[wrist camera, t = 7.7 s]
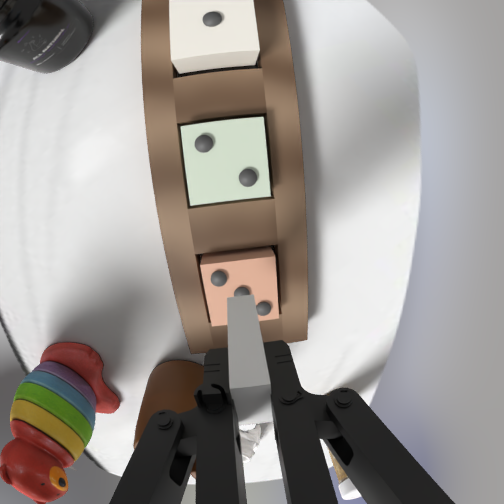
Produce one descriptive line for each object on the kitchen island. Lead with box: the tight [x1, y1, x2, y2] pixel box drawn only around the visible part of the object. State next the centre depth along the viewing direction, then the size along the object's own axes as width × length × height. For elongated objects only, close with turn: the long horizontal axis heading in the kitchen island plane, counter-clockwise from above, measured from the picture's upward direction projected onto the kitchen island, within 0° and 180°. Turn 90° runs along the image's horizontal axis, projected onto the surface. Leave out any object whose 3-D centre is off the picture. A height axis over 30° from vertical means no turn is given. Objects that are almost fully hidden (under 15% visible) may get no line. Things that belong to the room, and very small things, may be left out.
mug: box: [134, 360, 204, 479], centre depth 22 cm, size 12×8×9 cm, turn 10°
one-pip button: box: [169, 0, 260, 74], centre depth 13 cm, size 5×5×3 cm
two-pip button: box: [181, 117, 271, 206], centre depth 17 cm, size 5×5×3 cm
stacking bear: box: [0, 342, 120, 504], centre depth 17 cm, size 11×10×18 cm
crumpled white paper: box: [239, 424, 261, 463], centre depth 28 cm, size 8×7×5 cm
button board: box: [141, 0, 308, 354], centre depth 18 cm, size 30×10×2 cm, turn 5°
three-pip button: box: [200, 245, 279, 326], centre depth 20 cm, size 5×5×3 cm
